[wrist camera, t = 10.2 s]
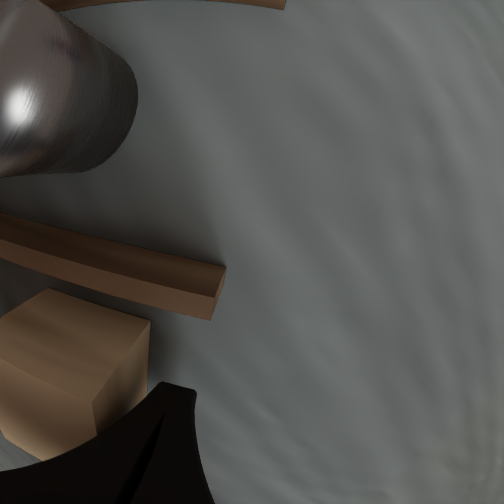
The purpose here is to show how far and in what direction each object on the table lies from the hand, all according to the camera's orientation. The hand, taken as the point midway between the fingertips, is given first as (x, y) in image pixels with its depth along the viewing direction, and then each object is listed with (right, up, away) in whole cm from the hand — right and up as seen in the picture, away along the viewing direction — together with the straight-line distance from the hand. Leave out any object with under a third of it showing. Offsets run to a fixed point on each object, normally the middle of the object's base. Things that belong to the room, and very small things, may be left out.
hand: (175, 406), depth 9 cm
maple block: (-4, +1, +1) cm, 4 cm away
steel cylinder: (-3, +10, -1) cm, 11 cm away
